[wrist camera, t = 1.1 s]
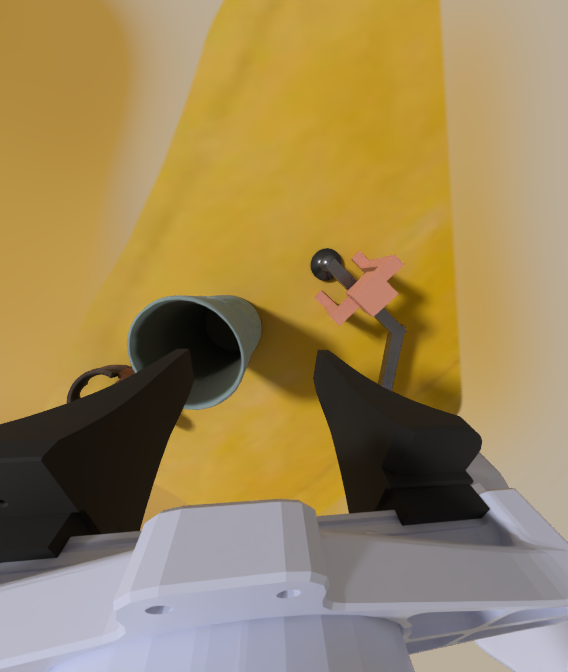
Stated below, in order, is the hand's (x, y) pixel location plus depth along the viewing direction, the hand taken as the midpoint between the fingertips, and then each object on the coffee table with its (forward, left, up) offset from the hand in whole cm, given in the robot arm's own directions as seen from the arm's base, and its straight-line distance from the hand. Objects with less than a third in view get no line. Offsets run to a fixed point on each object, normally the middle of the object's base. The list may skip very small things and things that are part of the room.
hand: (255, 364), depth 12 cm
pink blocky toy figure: (-8, -4, -16) cm, 18 cm away
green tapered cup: (+7, +2, -16) cm, 18 cm away
